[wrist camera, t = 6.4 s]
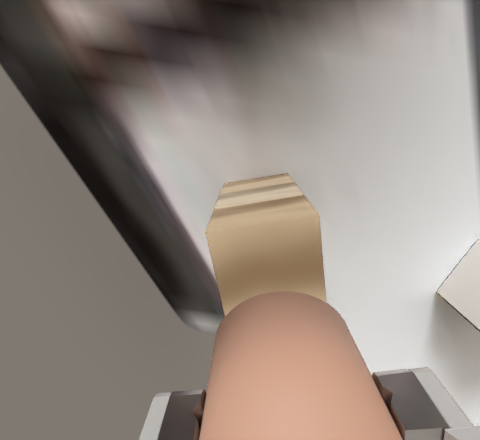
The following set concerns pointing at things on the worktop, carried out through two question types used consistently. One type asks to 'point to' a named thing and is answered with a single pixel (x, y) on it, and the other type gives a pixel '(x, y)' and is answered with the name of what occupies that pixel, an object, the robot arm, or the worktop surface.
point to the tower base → (256, 183)
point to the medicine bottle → (465, 286)
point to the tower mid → (257, 195)
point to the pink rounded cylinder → (290, 376)
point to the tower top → (266, 250)
